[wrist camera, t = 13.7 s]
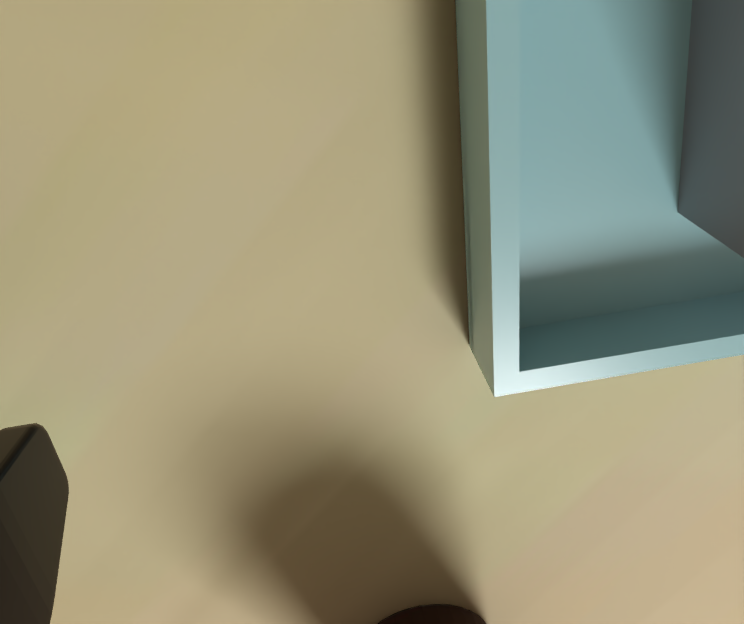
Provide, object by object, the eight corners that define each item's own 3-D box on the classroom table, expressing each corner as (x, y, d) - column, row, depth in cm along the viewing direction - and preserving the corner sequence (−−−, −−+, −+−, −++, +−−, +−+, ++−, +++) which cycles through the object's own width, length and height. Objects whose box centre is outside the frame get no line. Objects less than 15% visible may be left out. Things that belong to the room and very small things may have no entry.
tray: (469, 346, 24) (494, 396, 21) (448, -155, 17) (482, -170, 14) (861, 281, 25) (930, 322, 22) (1004, -220, 18) (1131, -245, 15)
